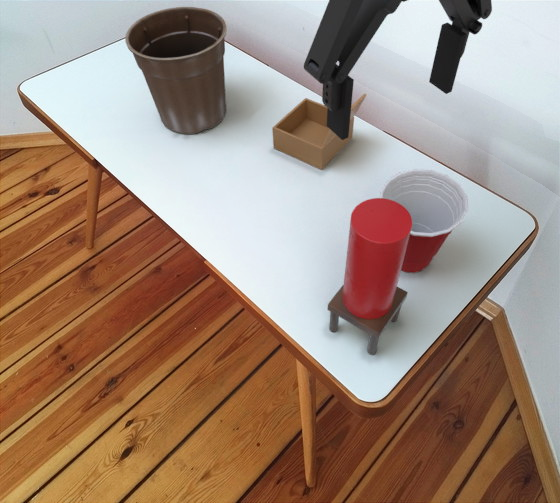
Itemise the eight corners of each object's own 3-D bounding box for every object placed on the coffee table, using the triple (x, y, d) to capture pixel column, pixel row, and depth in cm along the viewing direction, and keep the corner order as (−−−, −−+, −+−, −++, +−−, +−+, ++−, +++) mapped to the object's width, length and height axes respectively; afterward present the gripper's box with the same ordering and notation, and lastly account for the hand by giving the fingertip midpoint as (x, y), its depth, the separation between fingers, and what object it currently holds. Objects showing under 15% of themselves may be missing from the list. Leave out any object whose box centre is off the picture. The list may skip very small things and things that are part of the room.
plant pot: (136, 139, 91) (109, 55, 79) (163, 86, 101) (143, 4, 88) (225, 146, 89) (213, 61, 77) (244, 91, 99) (235, 8, 86)
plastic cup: (353, 260, 73) (361, 201, 63) (398, 217, 78) (411, 156, 68) (419, 303, 68) (438, 246, 59) (462, 255, 73) (486, 195, 63)
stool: (400, 317, 67) (408, 292, 62) (373, 358, 63) (379, 334, 59) (354, 292, 70) (357, 265, 65) (325, 329, 66) (327, 304, 61)
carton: (352, 137, 89) (354, 116, 86) (321, 170, 85) (322, 149, 81) (305, 118, 93) (305, 97, 90) (273, 148, 88) (272, 127, 85)
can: (401, 292, 62) (423, 213, 51) (377, 328, 59) (394, 252, 48) (358, 269, 64) (370, 189, 53) (332, 303, 61) (339, 225, 51)
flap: (353, 113, 85) (355, 114, 85) (321, 145, 81) (323, 146, 81) (364, 93, 81) (366, 94, 81) (331, 125, 77) (333, 127, 77)
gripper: (514, -180, 43) (454, 54, 60) (255, -116, 35) (269, 131, 52) (591, -159, 39) (504, 86, 55) (316, -82, 31) (311, 174, 48)
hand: (390, 108), depth 54 cm, fingers open, 13 cm apart
